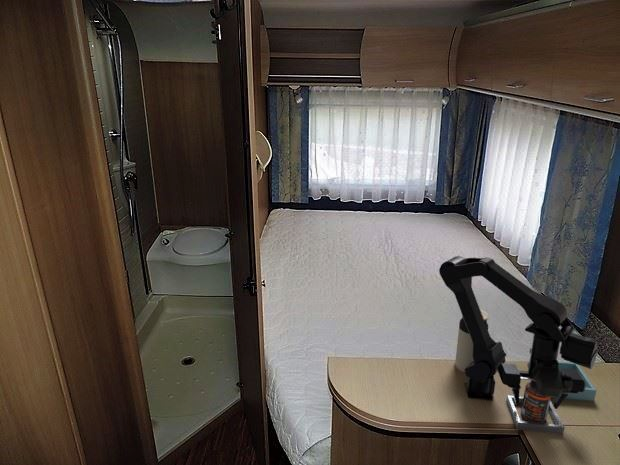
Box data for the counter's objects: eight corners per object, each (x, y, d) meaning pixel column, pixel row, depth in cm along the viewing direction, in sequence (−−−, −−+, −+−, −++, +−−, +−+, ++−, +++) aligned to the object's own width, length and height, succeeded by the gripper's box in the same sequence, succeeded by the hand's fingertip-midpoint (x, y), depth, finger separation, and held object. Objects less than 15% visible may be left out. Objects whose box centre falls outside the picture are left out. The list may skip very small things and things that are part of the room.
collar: (516, 429, 110) (517, 422, 109) (506, 401, 120) (507, 395, 119) (563, 434, 108) (564, 427, 107) (548, 405, 118) (549, 399, 117)
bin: (541, 397, 121) (543, 385, 120) (527, 370, 133) (529, 358, 132) (593, 403, 119) (596, 390, 118) (574, 374, 131) (577, 362, 130)
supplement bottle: (520, 420, 113) (526, 382, 109) (520, 406, 118) (527, 369, 114) (546, 428, 110) (554, 389, 107) (546, 413, 115) (553, 375, 112)
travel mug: (464, 377, 130) (471, 321, 125) (449, 362, 138) (455, 309, 132) (488, 372, 132) (495, 318, 127) (472, 358, 140) (478, 306, 134)
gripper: (512, 366, 102) (504, 423, 107) (601, 374, 99) (589, 432, 104) (501, 342, 113) (494, 394, 117) (581, 348, 110) (570, 402, 114)
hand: (535, 406), depth 113 cm, fingers open, 9 cm apart
